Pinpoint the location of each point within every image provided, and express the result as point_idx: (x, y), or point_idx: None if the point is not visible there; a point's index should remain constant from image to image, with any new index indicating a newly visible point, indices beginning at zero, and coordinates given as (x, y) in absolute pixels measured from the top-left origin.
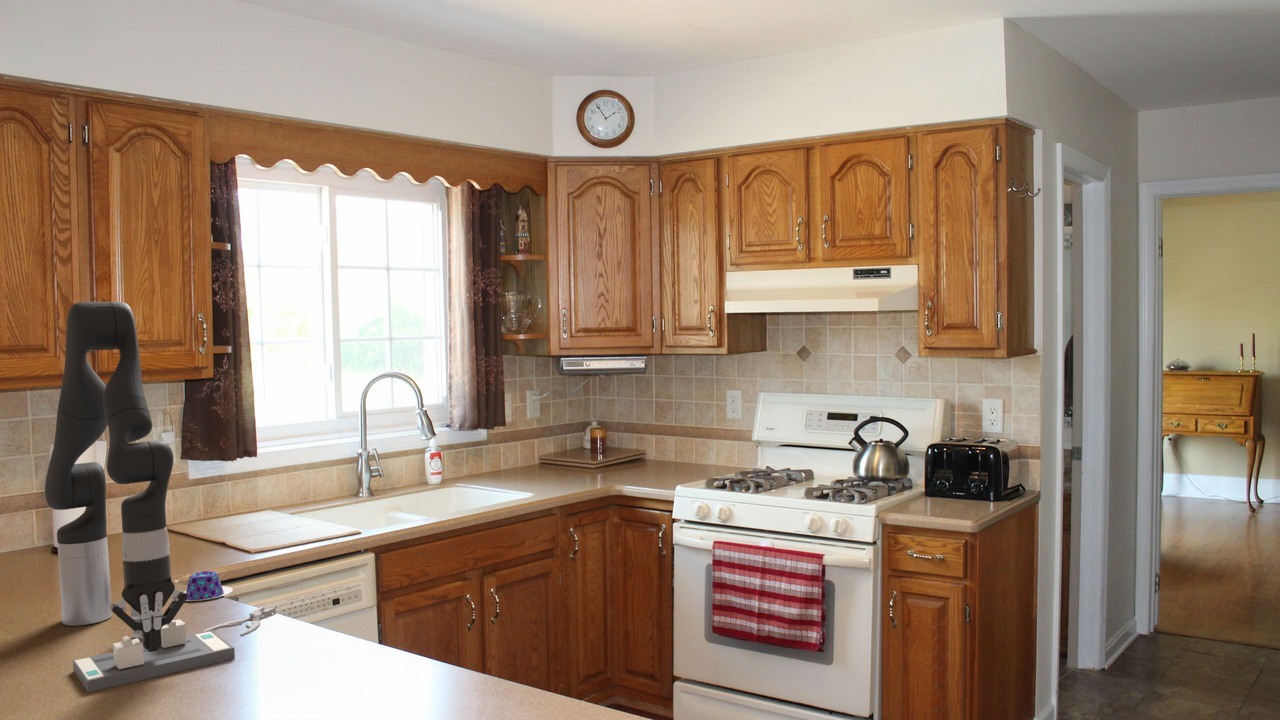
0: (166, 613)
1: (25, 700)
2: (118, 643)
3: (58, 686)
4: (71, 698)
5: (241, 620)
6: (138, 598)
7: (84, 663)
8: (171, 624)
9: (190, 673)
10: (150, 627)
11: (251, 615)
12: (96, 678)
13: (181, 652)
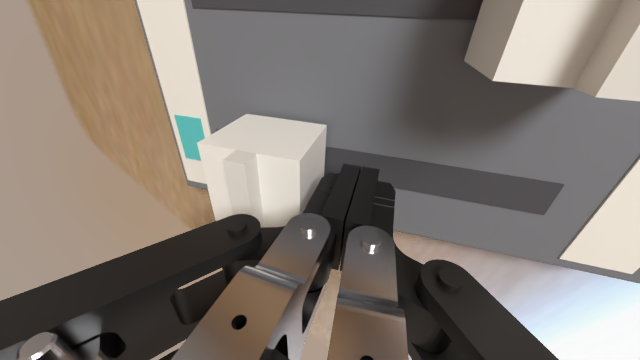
0: (460, 332)
1: (91, 103)
2: (218, 163)
3: (134, 53)
4: (180, 174)
5: None
6: None
7: None
8: (585, 91)
9: (428, 246)
10: (323, 288)
11: None
12: (206, 187)
13: (477, 177)
